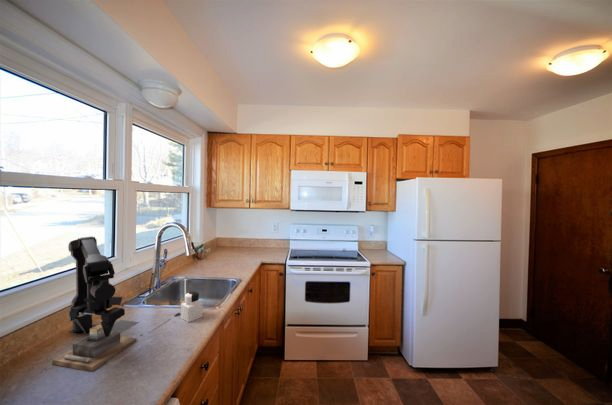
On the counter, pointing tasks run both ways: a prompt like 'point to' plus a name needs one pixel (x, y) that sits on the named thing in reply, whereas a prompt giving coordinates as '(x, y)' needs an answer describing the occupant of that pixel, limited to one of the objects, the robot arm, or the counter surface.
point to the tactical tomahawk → (165, 322)
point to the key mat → (123, 325)
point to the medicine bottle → (191, 307)
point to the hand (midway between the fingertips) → (97, 334)
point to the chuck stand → (93, 352)
